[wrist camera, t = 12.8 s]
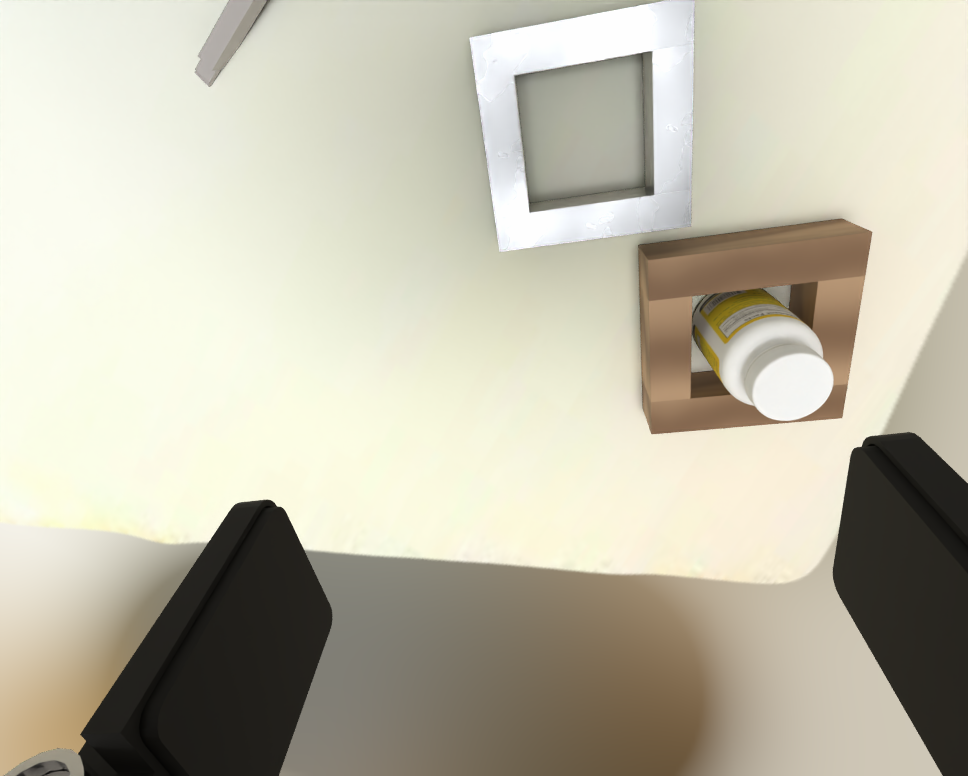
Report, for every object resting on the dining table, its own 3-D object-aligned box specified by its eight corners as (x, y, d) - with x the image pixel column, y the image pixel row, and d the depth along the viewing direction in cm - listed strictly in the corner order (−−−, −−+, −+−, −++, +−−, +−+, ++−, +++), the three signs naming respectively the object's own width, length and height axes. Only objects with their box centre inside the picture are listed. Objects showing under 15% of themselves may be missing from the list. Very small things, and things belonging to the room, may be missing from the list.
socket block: (474, 41, 31) (469, 37, 29) (680, 3, 30) (694, -5, 27) (502, 239, 36) (499, 251, 34) (679, 215, 35) (691, 226, 32)
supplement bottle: (753, 364, 39) (815, 443, 30) (677, 346, 39) (719, 420, 30) (790, 291, 36) (870, 354, 28) (709, 271, 36) (764, 329, 28)
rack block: (638, 245, 36) (648, 260, 33) (841, 218, 34) (872, 231, 31) (642, 408, 41) (651, 434, 38) (818, 392, 40) (842, 418, 36)
